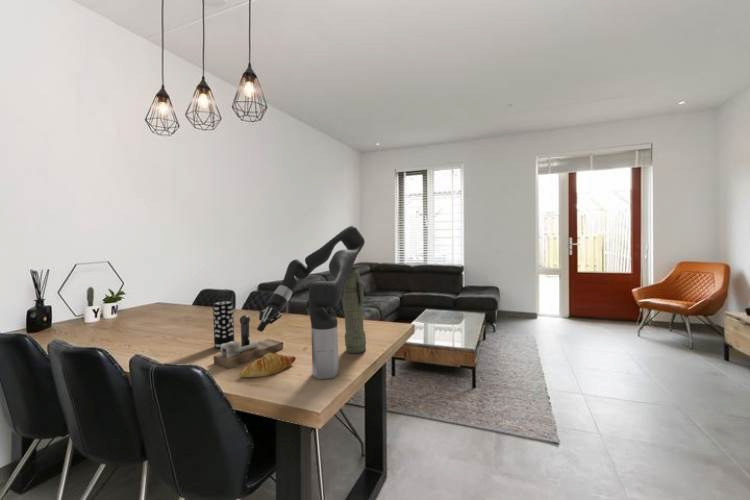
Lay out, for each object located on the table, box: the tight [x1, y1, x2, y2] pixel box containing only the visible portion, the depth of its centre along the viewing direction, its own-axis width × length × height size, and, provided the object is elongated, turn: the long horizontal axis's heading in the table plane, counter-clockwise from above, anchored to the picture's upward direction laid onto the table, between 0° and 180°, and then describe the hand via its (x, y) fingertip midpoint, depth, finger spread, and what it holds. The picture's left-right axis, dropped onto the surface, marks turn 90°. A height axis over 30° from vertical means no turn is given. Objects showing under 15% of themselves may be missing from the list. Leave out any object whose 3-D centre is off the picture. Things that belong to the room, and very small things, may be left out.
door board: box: [213, 338, 284, 369], centre depth 138 cm, size 26×10×8 cm, turn 146°
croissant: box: [238, 352, 296, 378], centre depth 122 cm, size 21×10×8 cm, turn 130°
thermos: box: [341, 268, 367, 354], centre depth 143 cm, size 9×12×35 cm
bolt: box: [239, 314, 259, 352], centre depth 136 cm, size 12×4×14 cm, turn 146°
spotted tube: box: [212, 300, 235, 350], centre depth 151 cm, size 8×8×20 cm
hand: (259, 330), depth 143 cm, fingers closed
